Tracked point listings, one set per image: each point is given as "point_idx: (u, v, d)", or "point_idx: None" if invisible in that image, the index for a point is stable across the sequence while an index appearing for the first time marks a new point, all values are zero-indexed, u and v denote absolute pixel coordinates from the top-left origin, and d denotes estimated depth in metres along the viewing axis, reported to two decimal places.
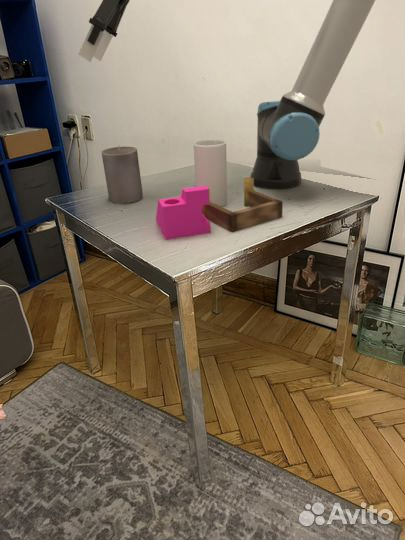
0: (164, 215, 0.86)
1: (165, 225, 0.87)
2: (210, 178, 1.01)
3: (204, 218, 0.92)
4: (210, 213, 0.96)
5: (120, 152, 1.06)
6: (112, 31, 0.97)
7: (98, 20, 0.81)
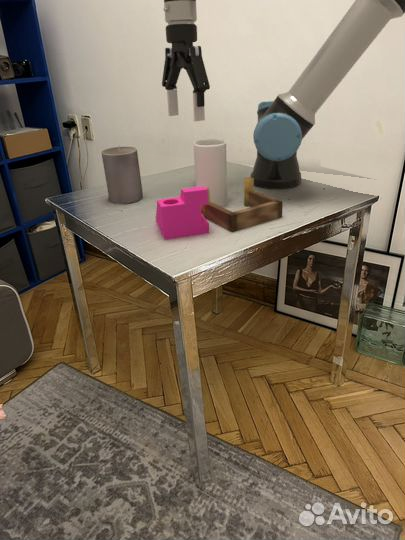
0: (163, 215, 0.86)
1: (164, 225, 0.87)
2: (210, 178, 1.01)
3: (203, 218, 0.92)
4: (210, 213, 0.96)
5: (120, 152, 1.06)
6: (174, 86, 1.08)
7: (205, 86, 0.94)
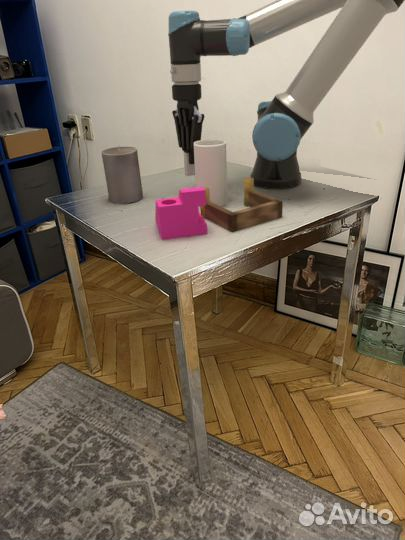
0: (160, 215, 0.86)
1: (161, 225, 0.87)
2: (210, 178, 1.01)
3: (202, 219, 0.91)
4: (210, 213, 0.96)
5: (120, 152, 1.06)
6: None
7: None
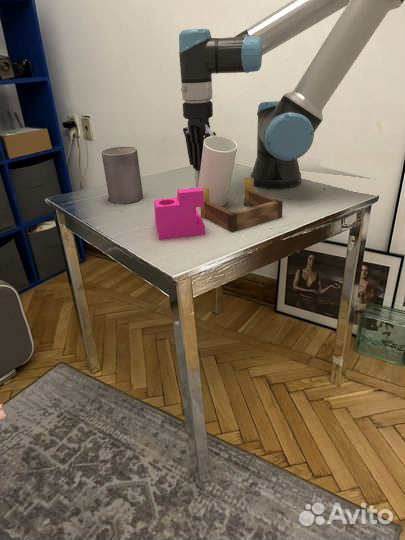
0: (157, 215, 0.86)
1: (158, 225, 0.87)
2: (215, 181, 0.99)
3: (200, 220, 0.91)
4: (210, 213, 0.96)
5: (120, 152, 1.06)
6: None
7: None
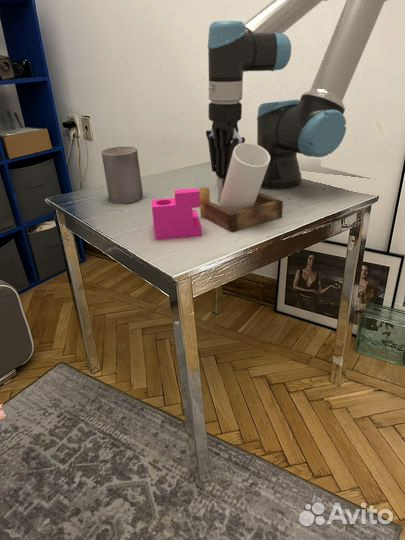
0: (153, 215, 0.86)
1: (154, 225, 0.87)
2: (243, 195, 0.90)
3: (197, 221, 0.91)
4: (210, 213, 0.96)
5: (120, 152, 1.06)
6: None
7: None
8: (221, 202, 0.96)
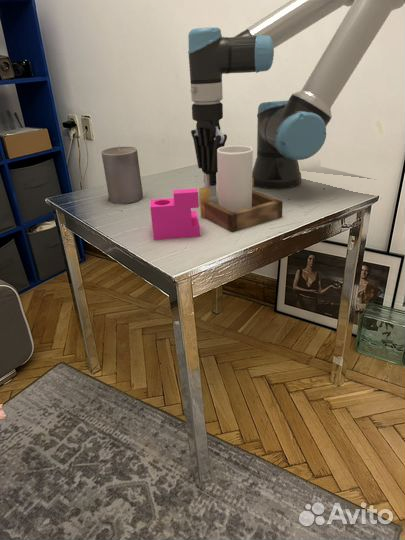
0: (152, 215, 0.86)
1: (153, 225, 0.87)
2: (235, 188, 0.93)
3: (196, 221, 0.91)
4: (210, 213, 0.96)
5: (120, 152, 1.06)
6: None
7: (217, 169, 1.02)
8: None
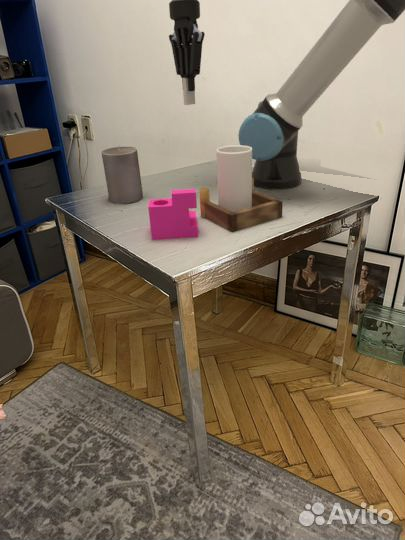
0: (150, 215, 0.86)
1: (151, 225, 0.87)
2: (234, 188, 0.93)
3: (195, 221, 0.90)
4: (210, 213, 0.96)
5: (120, 152, 1.06)
6: None
7: (195, 71, 1.03)
8: None
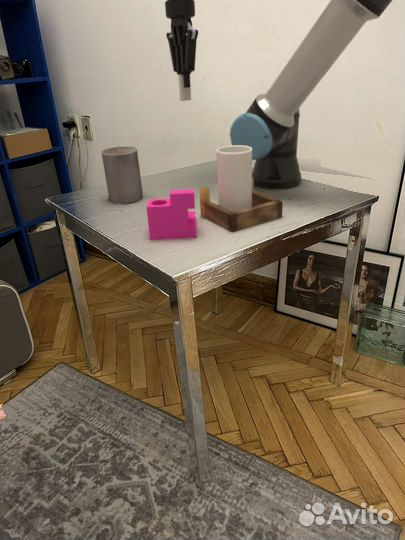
0: (148, 215, 0.86)
1: (149, 225, 0.87)
2: (234, 188, 0.93)
3: (193, 222, 0.90)
4: (210, 213, 0.96)
5: (120, 152, 1.06)
6: None
7: (190, 68, 1.06)
8: None
